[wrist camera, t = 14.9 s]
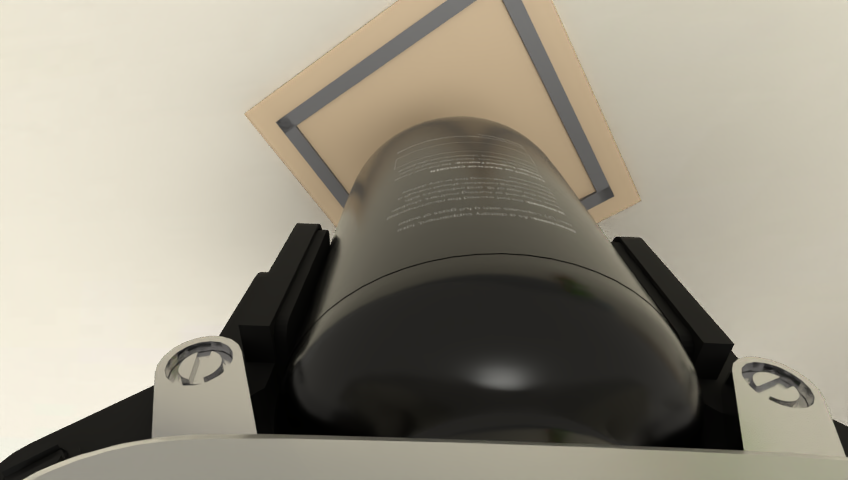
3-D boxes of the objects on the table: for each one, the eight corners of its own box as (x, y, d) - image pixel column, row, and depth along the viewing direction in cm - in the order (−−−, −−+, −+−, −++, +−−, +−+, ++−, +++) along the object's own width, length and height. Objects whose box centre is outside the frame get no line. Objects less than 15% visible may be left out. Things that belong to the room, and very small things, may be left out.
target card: (638, 198, 21) (643, 202, 21) (410, 314, 25) (409, 320, 24) (512, -84, 16) (514, -86, 16) (246, 112, 20) (242, 115, 19)
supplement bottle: (313, 247, 15) (47, 831, 5) (421, 63, 12) (375, 471, 2) (481, 333, 17) (570, 905, 6) (609, 188, 14) (1163, 779, 3)
